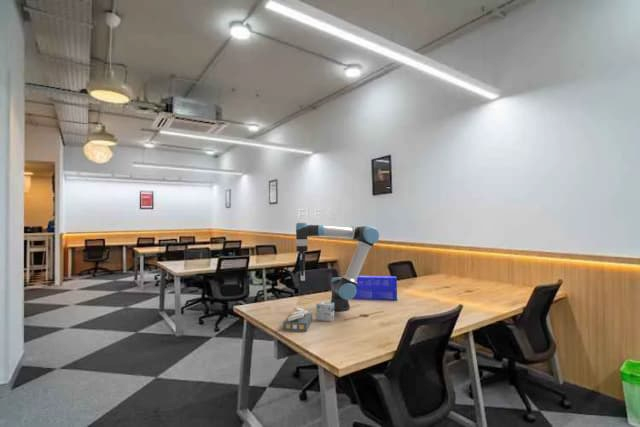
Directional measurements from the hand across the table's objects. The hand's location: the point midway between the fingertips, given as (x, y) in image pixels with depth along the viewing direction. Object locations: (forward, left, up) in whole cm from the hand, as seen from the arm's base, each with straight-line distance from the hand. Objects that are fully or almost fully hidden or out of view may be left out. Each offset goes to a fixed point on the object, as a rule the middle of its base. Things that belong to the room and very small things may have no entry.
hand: (302, 280), depth 221 cm
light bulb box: (-16, +3, -25) cm, 30 cm away
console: (-1, +18, -25) cm, 31 cm away
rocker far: (-1, +12, -17) cm, 21 cm away
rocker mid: (-1, +18, -17) cm, 25 cm away
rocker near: (-1, +25, -17) cm, 30 cm away
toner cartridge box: (-48, -59, -25) cm, 80 cm away
